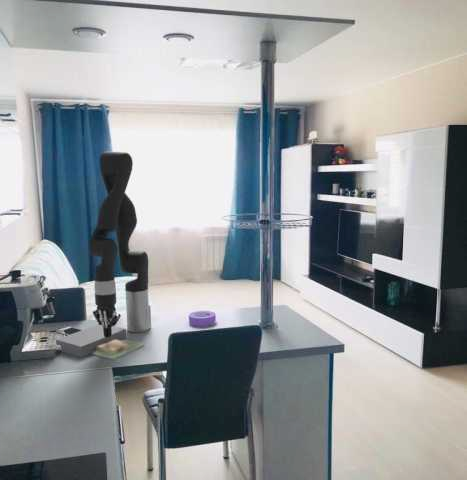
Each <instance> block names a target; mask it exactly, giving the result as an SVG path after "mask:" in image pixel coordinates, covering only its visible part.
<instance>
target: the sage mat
mask: <svg viewBox="0 0 467 480" xmlns="http://www.w3.org/2000/svg"><path fill="white" fill-rule="evenodd" d="M121 341H125V342H129V343H131V347H130V348H128V349H125V350H123V351H121V352H118V353H116V354H114V355H112V354H108V353H105V352H101V351H98V350H96V351H94V352H92V353H91V355H94V356H98V357H101V358H104V359H109V360H111V361H112V360H113V361H115V360H116V359H119V358H120V357H121V358H122V357H123V356H125V355H127V354H129V353H132V352H133V351H136V350H138V349H140V348H143V347H145V345H146V344H145V343H141V342H139V341H133V340H129V339H127V338H126V339H123V340H121Z"/></svg>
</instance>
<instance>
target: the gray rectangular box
mask: <svg viewBox="0 0 467 480" xmlns="http://www.w3.org/2000/svg"><path fill="white" fill-rule="evenodd" d="M81 330H82V331H79V332H76V333H73V334H71V335H68V336H66V335H64V336H63V337H60V338H57V339H55V345H56V344H57V345H60V346H61V351H60V352H63V353H66V354H69V355H72V356H75V357H80V358H84V357H86V356H89V355H92V352H94V351H96V346H97V345H100V344H102V343H105V342H107V341H110V340H112V339H117V340H123V339H126V340H127V329H126V328H123V327H120V326H119V327H118V326H116V325H115V326H112V327H111V330H112V331H111V332H112V335H111V337H108V338H107V337H104V332H103V327H102V325H99V324H95V325H93V326H91V327H87V328H85V329H81Z"/></svg>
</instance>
